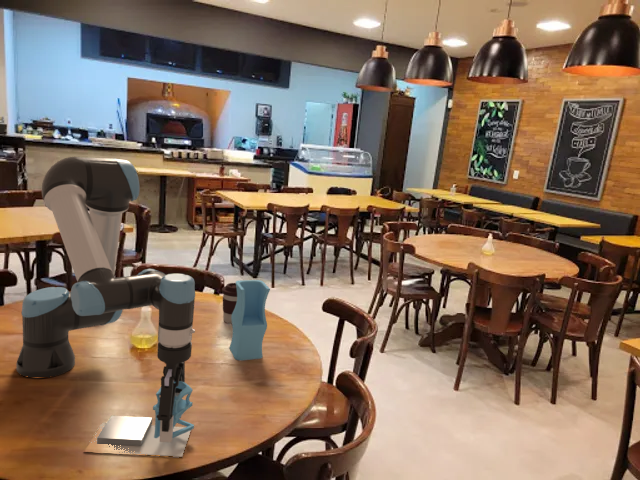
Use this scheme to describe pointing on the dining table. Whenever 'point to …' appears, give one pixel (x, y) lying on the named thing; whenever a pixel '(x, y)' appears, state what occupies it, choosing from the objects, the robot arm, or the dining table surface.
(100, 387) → the dining table surface
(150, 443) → the mat
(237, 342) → the blue wavy holder
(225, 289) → the coffee cup
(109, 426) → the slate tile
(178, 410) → the chair
